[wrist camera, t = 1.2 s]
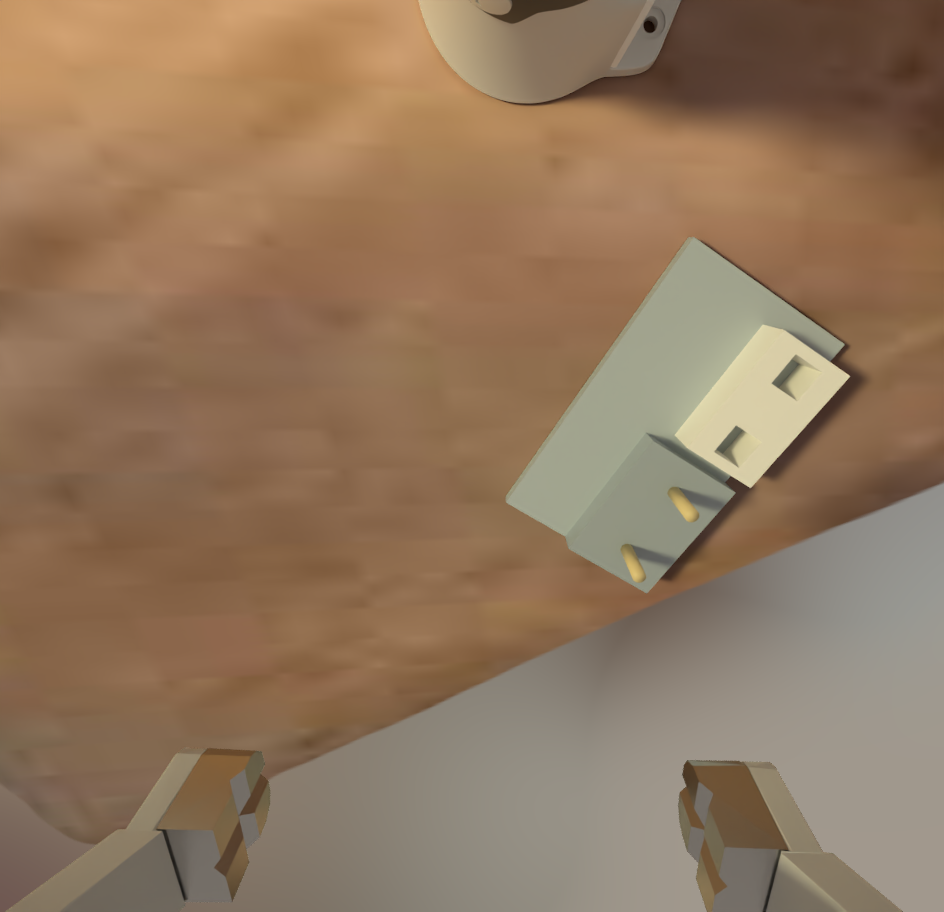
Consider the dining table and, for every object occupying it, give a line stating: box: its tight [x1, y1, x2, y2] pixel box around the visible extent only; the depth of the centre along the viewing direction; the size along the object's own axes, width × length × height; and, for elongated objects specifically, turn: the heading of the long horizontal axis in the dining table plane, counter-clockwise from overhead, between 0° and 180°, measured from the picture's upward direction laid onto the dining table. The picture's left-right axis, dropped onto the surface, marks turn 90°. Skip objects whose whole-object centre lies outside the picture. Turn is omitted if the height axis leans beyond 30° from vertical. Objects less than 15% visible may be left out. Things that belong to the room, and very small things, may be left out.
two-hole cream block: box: [675, 325, 850, 488], centre depth 39 cm, size 10×6×3 cm, turn 149°
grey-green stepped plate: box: [506, 237, 845, 593], centre depth 39 cm, size 24×14×7 cm, turn 149°
